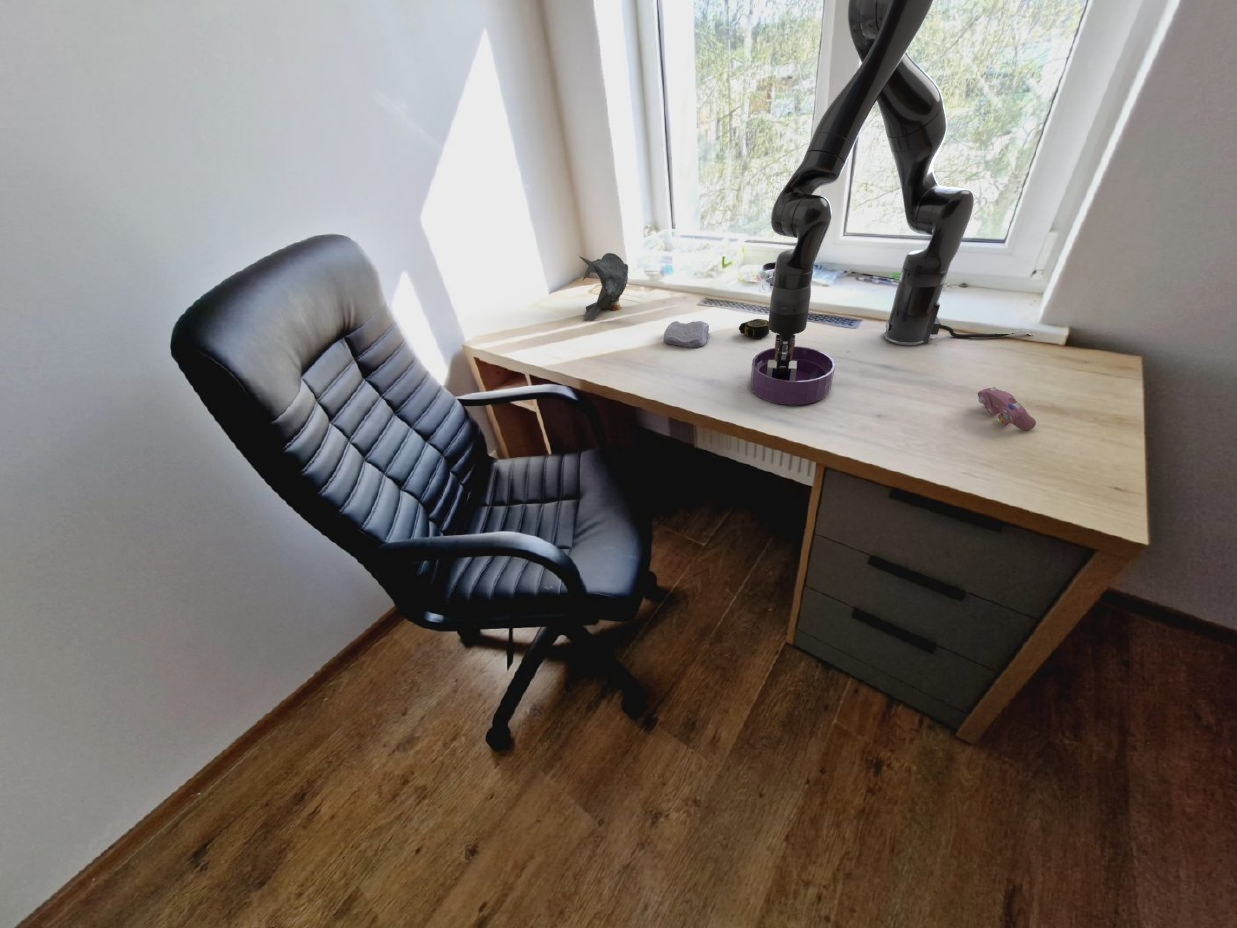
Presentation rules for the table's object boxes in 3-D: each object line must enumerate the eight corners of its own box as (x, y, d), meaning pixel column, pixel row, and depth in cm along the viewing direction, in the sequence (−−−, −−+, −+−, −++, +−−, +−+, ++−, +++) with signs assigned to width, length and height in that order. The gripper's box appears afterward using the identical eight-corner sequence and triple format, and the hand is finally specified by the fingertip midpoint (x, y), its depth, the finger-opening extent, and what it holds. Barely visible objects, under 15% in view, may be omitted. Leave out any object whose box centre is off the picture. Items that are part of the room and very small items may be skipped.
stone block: (703, 354, 126) (710, 332, 132) (702, 339, 123) (709, 317, 129) (661, 353, 131) (670, 332, 136) (659, 338, 127) (668, 317, 133)
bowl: (828, 371, 109) (833, 347, 105) (831, 409, 97) (836, 384, 93) (753, 368, 114) (755, 345, 110) (747, 404, 102) (749, 379, 98)
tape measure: (758, 328, 132) (759, 315, 129) (774, 336, 127) (775, 323, 124) (738, 334, 130) (738, 321, 128) (753, 342, 125) (754, 329, 123)
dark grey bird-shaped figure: (631, 316, 149) (626, 257, 138) (584, 321, 150) (575, 262, 139) (631, 301, 160) (626, 245, 149) (587, 305, 161) (579, 250, 150)
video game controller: (975, 412, 93) (970, 387, 89) (999, 401, 92) (996, 374, 88) (1012, 441, 85) (1009, 414, 82) (1039, 428, 84) (1037, 401, 80)
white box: (794, 378, 106) (796, 360, 103) (793, 387, 103) (796, 368, 100) (766, 377, 107) (768, 359, 105) (765, 385, 105) (767, 367, 102)
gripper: (809, 320, 88) (797, 398, 99) (808, 293, 99) (798, 367, 109) (768, 319, 90) (760, 396, 101) (771, 294, 101) (764, 366, 111)
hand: (780, 381), depth 105 cm, fingers closed on white box, 3 cm apart
